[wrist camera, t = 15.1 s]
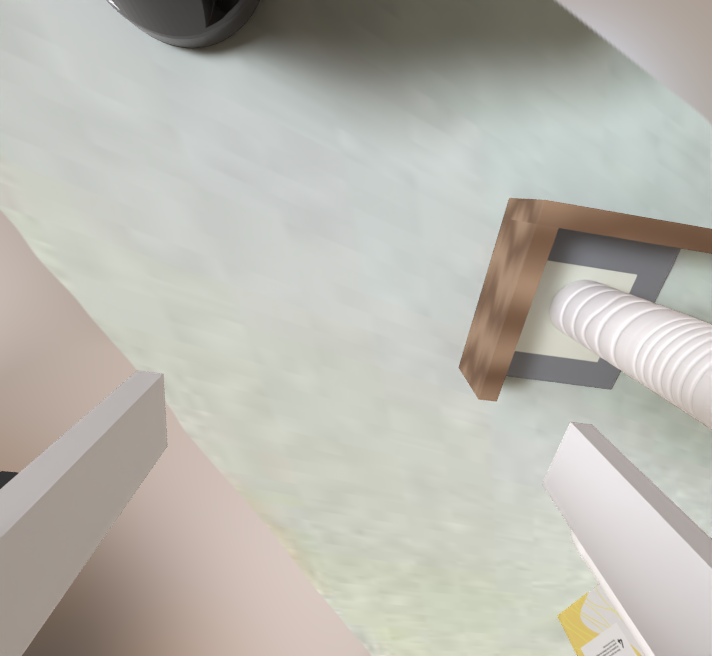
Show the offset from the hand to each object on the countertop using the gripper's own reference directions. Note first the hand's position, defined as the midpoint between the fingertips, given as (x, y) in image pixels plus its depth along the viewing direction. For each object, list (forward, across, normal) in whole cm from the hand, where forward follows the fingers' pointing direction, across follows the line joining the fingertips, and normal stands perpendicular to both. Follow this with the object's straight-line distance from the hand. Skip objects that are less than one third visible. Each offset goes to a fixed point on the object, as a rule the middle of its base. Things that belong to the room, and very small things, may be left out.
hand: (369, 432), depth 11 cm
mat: (+29, +26, -2) cm, 39 cm away
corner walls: (+29, +25, -1) cm, 38 cm away
